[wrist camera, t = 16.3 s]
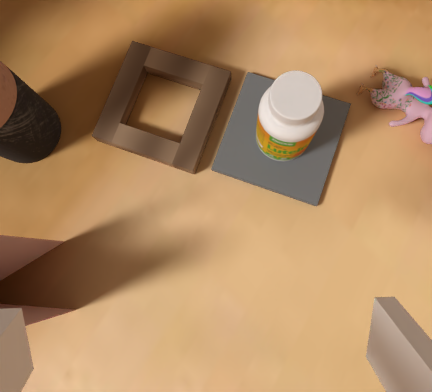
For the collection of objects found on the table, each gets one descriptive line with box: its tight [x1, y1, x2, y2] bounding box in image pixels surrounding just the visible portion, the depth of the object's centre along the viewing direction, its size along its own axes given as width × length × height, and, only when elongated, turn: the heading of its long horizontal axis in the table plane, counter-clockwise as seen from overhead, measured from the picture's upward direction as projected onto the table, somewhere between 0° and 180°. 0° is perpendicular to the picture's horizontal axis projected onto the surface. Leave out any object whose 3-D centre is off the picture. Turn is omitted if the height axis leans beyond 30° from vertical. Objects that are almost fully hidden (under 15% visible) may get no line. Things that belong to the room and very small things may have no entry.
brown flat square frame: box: [92, 41, 231, 174], centre depth 39 cm, size 11×11×2 cm
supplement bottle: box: [256, 71, 324, 161], centre depth 33 cm, size 5×5×10 cm
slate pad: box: [211, 72, 351, 206], centre depth 38 cm, size 11×11×1 cm
